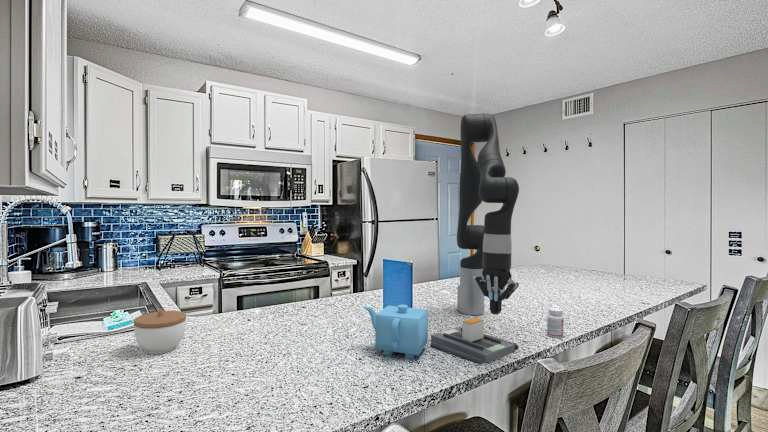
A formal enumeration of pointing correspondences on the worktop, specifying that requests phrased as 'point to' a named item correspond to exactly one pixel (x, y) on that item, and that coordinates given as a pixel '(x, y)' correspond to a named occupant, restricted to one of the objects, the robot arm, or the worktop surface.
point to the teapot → (400, 329)
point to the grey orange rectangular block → (472, 329)
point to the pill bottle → (555, 323)
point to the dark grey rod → (505, 341)
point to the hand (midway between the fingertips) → (495, 313)
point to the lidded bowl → (160, 330)
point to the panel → (473, 345)
